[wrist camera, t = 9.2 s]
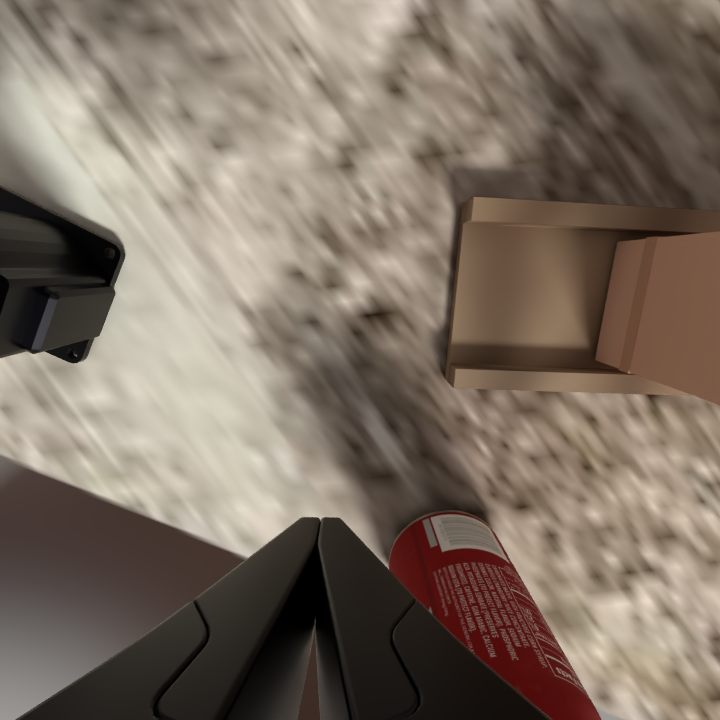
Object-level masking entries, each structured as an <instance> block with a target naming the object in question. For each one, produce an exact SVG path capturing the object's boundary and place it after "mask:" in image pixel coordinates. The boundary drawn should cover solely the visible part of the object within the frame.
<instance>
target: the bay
mask: <svg viewBox="0 0 720 720" xmlns="http://www.w3.org/2000/svg"><path fill="white" fill-rule="evenodd" d="M719 231H720V211H712V210H695V209H678V208H660V207H643V206H626V205H608V204H591V203H573V202H556V201H539V200H521V199H504V198H487V197H473V198H471V199H469V200H467V201H466V202H464V203H462V208H461V218H460V228H459V238H458V248H457V258H456V268H455V278H454V288H453V298H452V308H451V318H450V328H449V338H448V348H447V358H446V368H445V379H446V380H447V382H448V383H449V384H450V385H451V386H452V387H453V388H463V389H495V390H527V391H559V392H590V393H622V394H654V395H685V396H694V395H691V394H688V393H685V392H683V391H680V390H677V389H674V388H671V387H669V386H666V385H663V384H660V383H658V382H655V381H652V380H649V379H646V378H644V377H641V376H638V375H635V374H632V373H626V372H623V371H620V370H619V368H616V367H613V366H610V365H607V364H605V363H602V362H599V361H596V360H595V356H596V351H597V346H598V341H599V335H600V330H601V325H602V320H603V314H604V309H605V304H606V299H607V293H608V288H609V283H610V277H611V272H612V267H613V262H614V256H615V251H616V246H617V242H621V241H630V240H640V239H646V238H647V237H656V236H658V237H670V236H679V235H689V234H699V233H709V232H719Z"/></svg>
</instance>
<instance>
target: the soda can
mask: <svg viewBox="0 0 720 720" xmlns="http://www.w3.org/2000/svg"><path fill="white" fill-rule="evenodd" d="M389 570H390V571H391V572H392V573H393V574H394V576H395V577H396V578H397V579H398V580H399V581H400V582H401V583H402V584H403V585H404V586H405V587H406V588H407V589H408V590H409V591H410V592H411V593H412V595H413V596H414V597H415V598H416V599H417V601H420V602H421V603H422V604H423V605H424V606H425V607H426V608H427V609H428V610H429V611H430V612H431V614H432V615H433V616H434V617H436V618H437V619H438V620H439V621H440V622H441V623H442V624H443V625H444V626H445V627H446V628H447V629H448V630H449V631H450V632H451V633H452V634H453V635H454V636H455V637H456V638H457V639H458V640H459V641H461V642H462V643H463V644H464V645H465V646H466V647H467V648H468V649H470V650H471V651H472V652H473V653H474V654H475V655H476V656H478V657H479V658H480V659H481V660H482V661H483V662H484V663H486V664H487V665H488V666H489V667H490V668H492V669H493V670H494V671H495V672H496V673H497V674H499V675H500V676H501V677H502V678H503V679H505V680H506V681H507V682H508V683H509V684H510V685H512V686H513V687H514V688H515V689H516V690H518V691H519V692H520V693H521V694H522V695H524V696H525V697H526V698H527V699H528V700H529V701H531V702H532V703H533V704H534V705H535V706H537V707H538V708H539V709H540V710H541V711H542V712H544V713H545V714H546V715H547V716H548V717H550V718H551V719H552V720H601V718H600V716H599V714H598V712H597V710H596V708H595V706H594V705H593V703H592V701H591V699H590V698H589V696H588V694H587V692H586V691H585V689H584V687H583V686H582V684H581V682H580V680H579V679H578V677H577V675H576V673H575V672H574V670H573V668H572V666H571V665H570V663H569V661H568V659H567V658H566V656H565V654H564V652H563V651H562V649H561V647H560V645H559V644H558V642H557V640H556V639H555V637H554V635H553V633H552V632H551V630H550V628H549V626H548V625H547V623H546V621H545V619H544V618H543V616H542V614H541V612H540V611H539V609H538V607H537V605H536V604H535V602H534V600H533V598H532V597H531V595H530V593H529V592H528V590H527V588H526V586H525V585H524V583H523V581H522V579H521V578H520V576H519V574H518V572H517V571H516V569H515V567H514V565H513V564H512V562H511V560H510V558H509V557H508V555H507V553H506V552H505V550H504V548H503V546H502V545H501V543H500V541H499V539H498V538H497V536H496V534H495V533H494V531H493V530H492V529H491V527H490V526H489V525H488V524H487V523H486V522H484V521H483V520H482V519H480V518H478V517H477V516H475V515H472V514H470V513H467V512H463V511H457V510H442V511H436V512H432V513H428V514H426V515H423V516H421V517H419V518H417V519H415V520H414V521H412V522H411V523H410V524H408V525H407V526H406V527H405V528H404V529H403V530H402V531H401V532H400V533H399V535H398V536H397V538H396V539H395V541H394V543H393V545H392V548H391V551H390V555H389Z"/></svg>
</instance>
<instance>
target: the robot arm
mask: <svg viewBox="0 0 720 720" xmlns="http://www.w3.org/2000/svg"><path fill="white" fill-rule="evenodd" d="M111 249H113V250H114V251H115V257H114V258H112V257H110V254H109V251H110V250H111ZM124 259H125V251H124V249H123V248H122V247H121V246H120V245H119V244H117V243H115V242H113V241H111V240H109V239H107V238H105V237H103V236H101V235H99V234H97V233H95V232H93V231H91V230H89V229H87V228H85V227H83V226H81V225H79V224H77V223H75V222H73V221H71V220H69V219H67V218H65V217H63V216H61V215H59V214H57V213H55V212H53V211H51V210H49V209H47V208H45V207H43V206H41V205H39V204H37V203H35V202H33V201H31V200H29V199H27V198H25V197H23V196H21V195H19V194H17V193H15V192H13V191H11V190H9V189H7V188H5V187H3V186H0V358H3V357H7V356H11V355H15V354H18V353H22V352H26V351H27V352H30V353H32V354H36V353H40V352H43V351H45V352H47V353H49V354H52V355H54V356H56V357H58V358H61V359H63V360H65V361H67V362H70V363H78V362H81V361H83V360H85V359H86V358H87V356H88V353H89V351H90V348H91V345H92V343H93V340H94V338H95V337H98V336H99V335H100V333H101V330H102V328H103V325H104V322H105V320H106V317H107V315H108V312H109V309H110V307H111V304H112V302H113V299H114V296H115V290H114V285H115V283H116V280H117V277H118V275H119V272H120V269H121V267H122V264H123V262H124ZM73 349H74V350H76V351H77V353H78V355H77V357H76V356H75V355H74V354H73ZM315 620H316V653H317V669H318V685H319V686H318V687H319V704H320V720H552V719H551V718H550V717H548V716H547V715H546V714H545V713H544V712H542V711H541V710H540V709H539V708H538V707H537V706H535V705H534V704H533V703H532V702H531V701H529V700H528V699H527V698H526V697H525V696H524V695H522V694H521V693H520V692H519V691H518V690H516V689H515V688H514V687H513V686H512V685H510V684H509V683H508V682H507V681H506V680H505V679H503V678H502V677H501V676H500V675H499V674H497V673H496V672H495V671H494V670H493V669H492V668H490V667H489V666H488V665H487V664H486V663H484V662H483V661H482V660H481V659H480V658H479V657H478V656H476V655H475V654H474V653H473V652H472V651H471V650H470V649H468V648H467V647H466V646H465V645H464V644H463V643H462V642H461V641H459V640H458V639H457V638H456V637H455V636H454V635H453V634H452V633H451V632H450V631H449V630H448V629H447V628H446V627H445V626H444V625H443V624H442V623H441V622H440V621H439V620H438V619H437V618H436V617H434V616H433V615H432V614H431V612H430V611H429V610H428V609H427V608H426V607H425V606H424V605H423V604H422V603H421V602H420V601H417V599H416V598H415V597H414V596H413V595H412V593H411V592H410V591H409V590H408V589H407V588H406V587H405V586H404V585H403V584H402V583H401V582H400V581H399V580H398V579H397V578H396V577H395V576H394V574H393V573H392V572H391V571H390V570H389V569H388V568H387V567H386V566H385V565H384V564H383V563H382V562H381V561H380V560H379V559H378V558H377V557H376V555H375V554H374V553H373V552H372V551H371V550H370V549H369V548H368V547H367V546H366V545H365V544H364V543H363V542H362V541H361V540H360V539H359V538H358V536H357V535H356V534H355V533H354V532H353V531H352V530H351V529H350V528H349V527H348V526H347V525H346V524H345V523H344V522H343V521H342V520H341V519H340V518H329V517H324V518H322V519H321V522H320V519H319V518H317V517H302V518H300V519H299V520H297V521H296V522H295V523H294V524H292V525H291V526H290V527H288V528H287V529H286V530H284V531H283V532H282V533H280V534H279V535H278V536H276V537H275V538H274V539H273V540H271V541H270V542H269V543H267V544H266V545H265V546H263V547H262V548H261V549H259V550H258V551H257V552H256V553H254V554H253V555H252V556H250V557H249V558H248V559H246V560H245V561H244V562H243V563H241V564H240V565H239V566H237V567H236V568H235V569H233V570H232V571H231V572H229V573H228V574H227V575H225V576H224V577H223V578H222V579H220V580H219V581H218V582H216V583H215V584H214V585H212V586H211V587H210V588H208V589H207V590H206V591H205V592H203V593H202V594H201V595H199V596H198V597H197V598H196V599H194V600H193V602H189V603H188V604H186V605H185V606H184V607H182V608H181V609H180V610H179V611H177V612H176V613H174V614H173V615H172V616H170V617H169V618H168V619H166V620H165V621H163V622H162V623H161V624H159V625H158V626H157V627H155V628H154V629H152V630H151V631H150V632H148V633H147V634H145V635H144V636H143V637H141V638H140V639H138V640H137V641H135V642H134V643H132V644H131V645H129V646H128V647H126V648H125V649H124V650H122V651H120V652H119V653H117V654H116V655H114V656H113V657H111V658H110V659H108V660H107V661H105V662H104V663H102V664H101V665H99V666H98V667H96V668H95V669H93V670H92V671H90V672H89V673H87V674H85V675H84V676H82V677H81V678H79V679H78V680H76V681H75V682H73V683H72V684H70V685H68V686H67V687H65V688H64V689H62V690H61V691H59V692H58V693H56V694H54V695H53V696H52V697H50V698H48V699H47V700H45V701H44V702H42V703H41V704H39V705H37V706H36V707H34V708H33V709H31V710H30V711H28V712H27V713H25V714H24V715H22V716H20V717H19V718H17V719H16V720H297V717H298V712H299V707H300V702H301V697H302V692H303V687H304V682H305V677H306V672H307V667H308V662H309V657H310V652H311V647H312V642H313V636H314V630H315Z"/></svg>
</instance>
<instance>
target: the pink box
mask: <svg viewBox="0 0 720 720" xmlns="http://www.w3.org/2000/svg"><path fill="white" fill-rule="evenodd" d="M595 360H596V361H599V362H602V363H605V364H607V365H610V366H613V367H616V368H619V370H620V371H623V372H626V373H632V374H635V375H638V376H641V377H644V378H646V379H649V380H652V381H655V382H658V383H660V384H663V385H666V386H669V387H671V388H674V389H677V390H680V391H683V392H685V393H688V394H691V395H694V396H697V397H699V398H702V399H705V400H708V401H710V402H713V403H716V404H719V405H720V231H719V232H709V233H699V234H689V235H679V236H670V237H658V236H656V237H647V238H646V239H640V240H630V241H621V242H617V246H616V251H615V256H614V262H613V267H612V272H611V277H610V283H609V288H608V293H607V299H606V304H605V309H604V314H603V320H602V325H601V330H600V335H599V341H598V346H597V351H596V356H595Z"/></svg>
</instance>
